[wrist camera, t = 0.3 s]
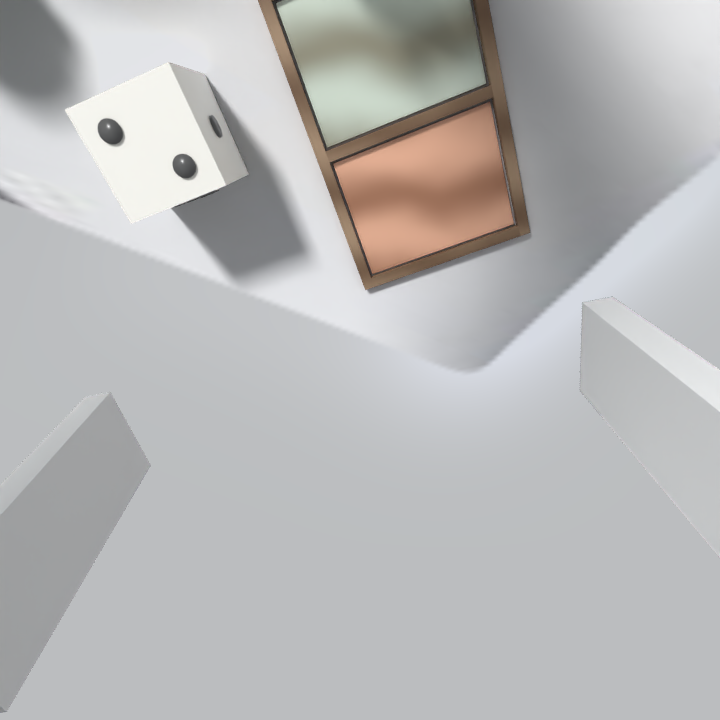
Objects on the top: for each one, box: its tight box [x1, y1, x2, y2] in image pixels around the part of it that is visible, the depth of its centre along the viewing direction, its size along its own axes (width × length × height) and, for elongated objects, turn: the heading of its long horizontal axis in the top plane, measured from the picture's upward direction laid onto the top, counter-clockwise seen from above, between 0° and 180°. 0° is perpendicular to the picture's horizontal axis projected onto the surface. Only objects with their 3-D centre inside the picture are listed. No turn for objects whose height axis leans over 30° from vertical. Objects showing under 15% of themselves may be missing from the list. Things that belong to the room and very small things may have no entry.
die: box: [65, 62, 249, 224], centre depth 31 cm, size 7×7×7 cm
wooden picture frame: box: [258, 0, 530, 290], centre depth 31 cm, size 32×14×1 cm, turn 20°
